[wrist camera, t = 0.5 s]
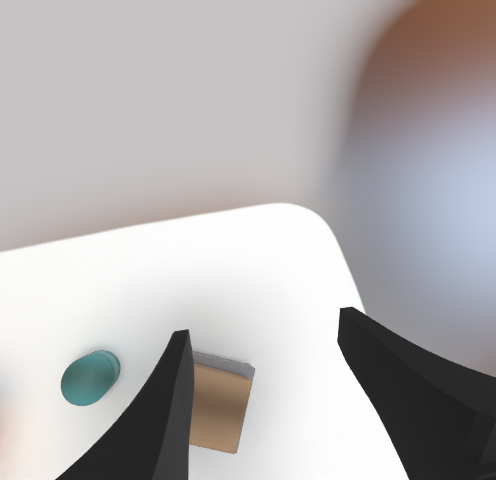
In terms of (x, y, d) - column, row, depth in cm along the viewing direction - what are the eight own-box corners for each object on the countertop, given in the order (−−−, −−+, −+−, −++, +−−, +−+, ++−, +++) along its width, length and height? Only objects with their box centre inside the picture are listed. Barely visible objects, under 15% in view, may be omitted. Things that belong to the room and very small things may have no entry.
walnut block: (229, 441, 33) (234, 454, 30) (169, 428, 32) (168, 439, 29) (246, 376, 35) (252, 382, 32) (189, 361, 34) (190, 366, 31)
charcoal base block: (231, 441, 35) (236, 452, 32) (159, 427, 34) (157, 438, 31) (249, 364, 38) (255, 368, 35) (182, 348, 37) (182, 351, 34)
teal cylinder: (111, 396, 33) (100, 410, 28) (70, 387, 32) (52, 400, 28) (125, 355, 34) (117, 362, 30) (87, 346, 34) (72, 352, 29)
